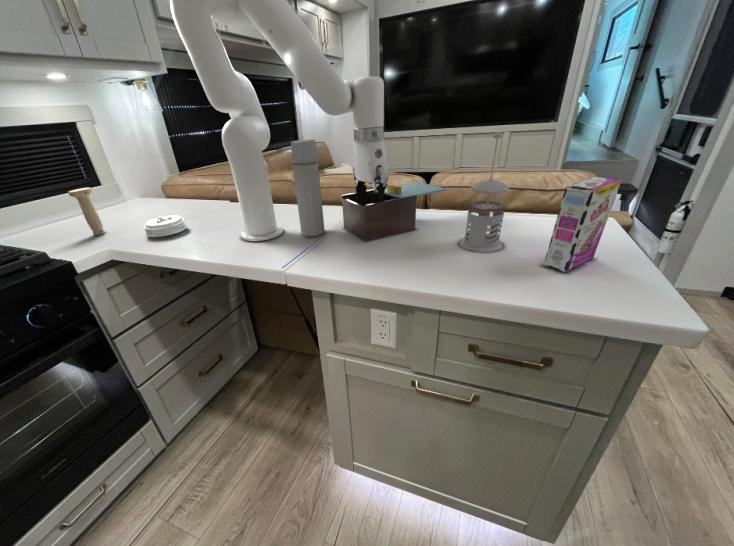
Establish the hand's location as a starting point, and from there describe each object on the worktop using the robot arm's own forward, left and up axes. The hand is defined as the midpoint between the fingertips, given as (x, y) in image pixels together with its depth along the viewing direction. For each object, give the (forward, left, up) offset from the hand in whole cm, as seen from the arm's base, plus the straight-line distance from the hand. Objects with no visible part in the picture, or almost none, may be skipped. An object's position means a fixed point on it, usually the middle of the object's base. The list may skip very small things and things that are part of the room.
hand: (369, 203), depth 92 cm
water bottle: (-9, -14, -8) cm, 19 cm away
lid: (-39, -55, -8) cm, 68 cm away
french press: (+25, +18, -8) cm, 32 cm away
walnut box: (0, +3, -8) cm, 8 cm away
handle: (-54, -77, -8) cm, 95 cm away
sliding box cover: (0, +14, +1) cm, 14 cm away
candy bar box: (+43, +24, -8) cm, 50 cm away
